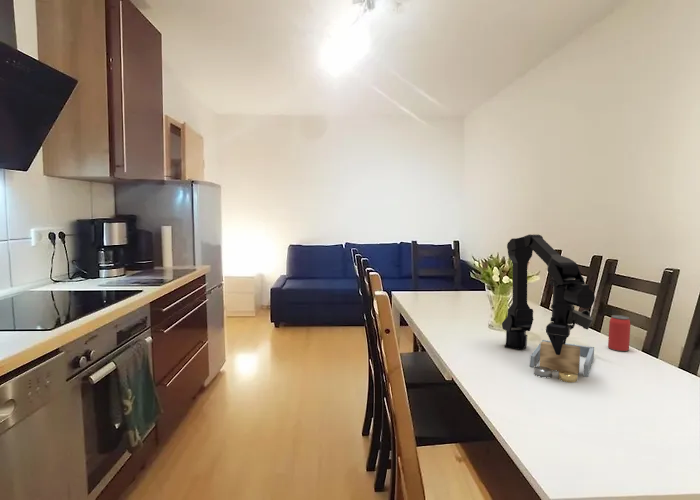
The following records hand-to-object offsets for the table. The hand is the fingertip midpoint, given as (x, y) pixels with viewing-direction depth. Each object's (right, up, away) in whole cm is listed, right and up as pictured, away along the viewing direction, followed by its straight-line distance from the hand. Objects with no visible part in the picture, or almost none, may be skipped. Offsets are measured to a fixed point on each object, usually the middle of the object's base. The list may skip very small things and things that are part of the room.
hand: (560, 351), depth 142 cm
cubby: (+5, -5, +8) cm, 11 cm away
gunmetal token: (-7, -7, -4) cm, 10 cm away
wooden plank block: (0, -6, +1) cm, 6 cm away
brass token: (-1, -7, -7) cm, 10 cm away
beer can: (+32, -5, +23) cm, 40 cm away
